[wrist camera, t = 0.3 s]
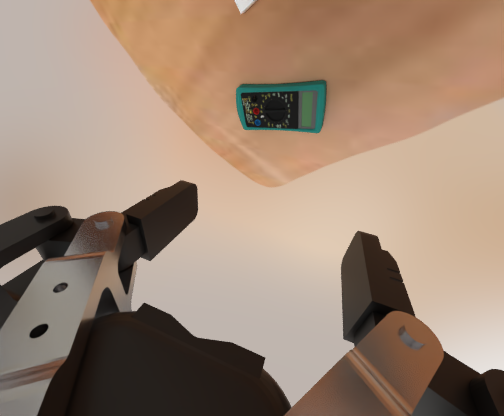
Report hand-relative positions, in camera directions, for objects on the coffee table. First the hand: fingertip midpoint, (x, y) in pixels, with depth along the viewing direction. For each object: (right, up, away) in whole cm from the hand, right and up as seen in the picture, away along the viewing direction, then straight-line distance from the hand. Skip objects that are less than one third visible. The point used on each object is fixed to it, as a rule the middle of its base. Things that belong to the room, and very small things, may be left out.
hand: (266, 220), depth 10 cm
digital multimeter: (+4, +18, +25) cm, 32 cm away
